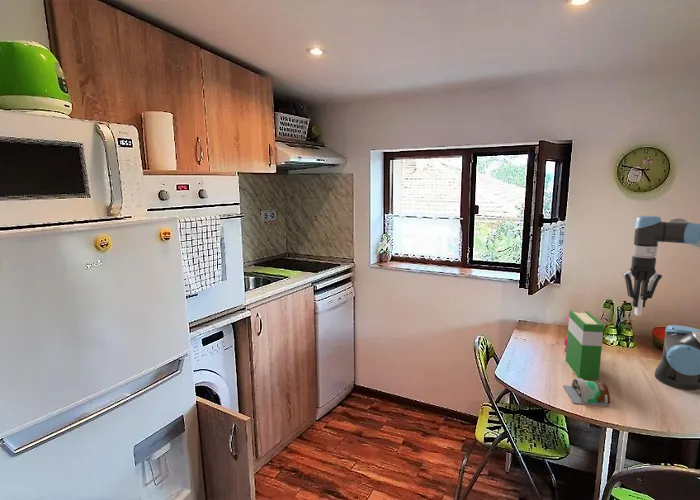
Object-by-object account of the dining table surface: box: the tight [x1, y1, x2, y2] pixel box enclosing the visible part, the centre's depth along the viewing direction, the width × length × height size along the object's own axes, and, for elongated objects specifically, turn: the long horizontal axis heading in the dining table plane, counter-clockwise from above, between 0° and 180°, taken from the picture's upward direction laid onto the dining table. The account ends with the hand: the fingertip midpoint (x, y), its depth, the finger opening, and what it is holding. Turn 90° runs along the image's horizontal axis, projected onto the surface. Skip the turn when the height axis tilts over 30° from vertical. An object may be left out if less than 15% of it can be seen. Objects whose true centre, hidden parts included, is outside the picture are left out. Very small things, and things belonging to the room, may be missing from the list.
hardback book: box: [565, 310, 605, 381], centre depth 177 cm, size 18×7×24 cm, turn 169°
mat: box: [562, 384, 610, 407], centre depth 158 cm, size 12×13×1 cm
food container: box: [571, 377, 611, 404], centre depth 157 cm, size 12×6×10 cm
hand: (637, 314), depth 161 cm, fingers closed
